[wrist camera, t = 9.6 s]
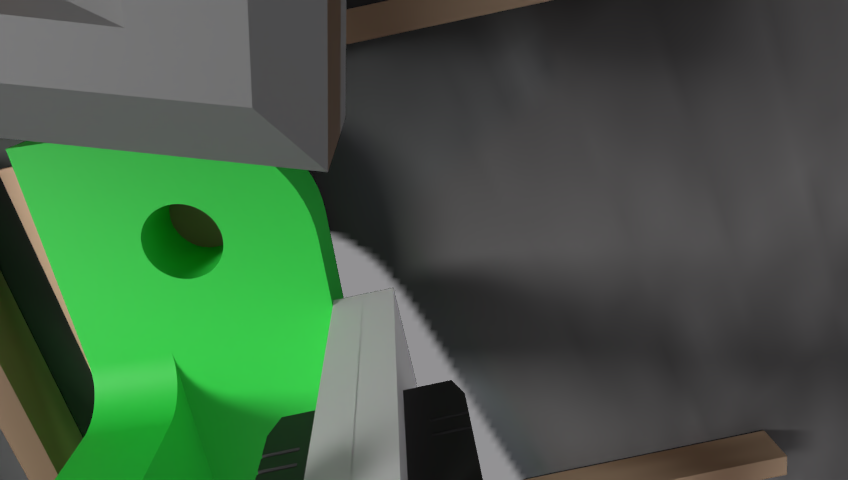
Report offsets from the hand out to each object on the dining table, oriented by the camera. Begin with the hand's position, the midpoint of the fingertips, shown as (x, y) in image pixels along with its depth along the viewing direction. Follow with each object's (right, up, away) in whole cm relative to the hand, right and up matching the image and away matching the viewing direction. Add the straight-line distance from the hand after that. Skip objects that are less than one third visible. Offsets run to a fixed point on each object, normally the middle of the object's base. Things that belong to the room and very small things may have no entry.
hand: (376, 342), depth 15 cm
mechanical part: (-4, 0, +2) cm, 4 cm away
